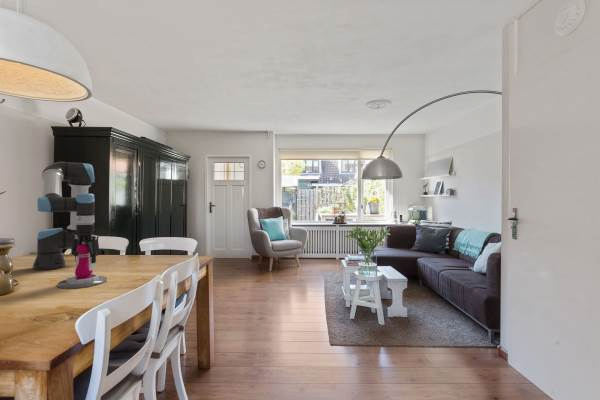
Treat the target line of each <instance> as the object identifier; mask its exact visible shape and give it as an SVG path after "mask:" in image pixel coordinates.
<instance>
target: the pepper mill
mask: <svg viewBox="0 0 600 400" xmlns="http://www.w3.org/2000/svg"><path fill="white" fill-rule="evenodd" d="M77 252H78V253H79V254H78V257H79V263H78V266H77V268H76V267H75V270H74V275H76V276H77V278H76V280H80V279H88V278H91V276H90V275H91V274H93V272H94V271H93V270H89V256H90V253H89V250H88V247H87V245H86V244H85V243H84V242H82V244H81V245H79V246H78V247H77Z"/></svg>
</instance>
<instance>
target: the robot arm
mask: <svg viewBox="0 0 600 400" xmlns="http://www.w3.org/2000/svg"><path fill="white" fill-rule="evenodd" d="M41 178H42V179H41V180H43V194H42V195H43V196H38V198H37V211H38V212H40V213H63V212H66V213H67V212H68V213H70V224H69V225H68V226H67V227H66V229H64V228H63V227H57V228H49V229H43V230H40V231H38V233H37V237H36V240H37V244H36V249H37V250H36V257H35V259H34V261H33V263H32V270H35V271H44V270H46V271H47V270H54V269H55V270H56V269H60V268H64V267H66V260H65V258H64V255H63V250H65V249H66V250H67V249H69V250H70V249H71V250H70V251H71V253H70V255H71V256H74V263H75V269H76V268H77V266H78V263H79V257H78V254H79V253H78V252H77V247H78V246H79V245H81V244H82V242H84V243H85V244H86V245H87V247H88V250H89V253H90V256H89V270H95V269H96V263H97V256H100V244H99V235H95V234H94V232H95V201H96V199H95V194H94V193H89V188H90V187H91V186H92V183H95V182H96V181H95V171H94V167H93V165H92V164H90V163H84V162H70V161H57V162H54V163H51V164H49V165H47V166H46V167H44V169H43V170H42V173H41ZM62 182H68V184H67V185H68V186H70V187H71V193H70V195H71V196H70V197H68V196H64V197H63V188H62Z"/></svg>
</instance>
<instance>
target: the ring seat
mask: <svg viewBox="0 0 600 400" xmlns="http://www.w3.org/2000/svg"><path fill="white" fill-rule="evenodd" d="M90 276H91V278H88V279H80V280H76V278H77V276H76V275H75V274H74V275H71V276H69V277H67V278H66V279H63V280H61V281H59V282H58V283H57V287H58V288H60V289H64V288H65V289H66V290H69V289H70V290H71V289H72V290H73V289H74V290H75V289H84V288H90V287H96V286H99V285H102V284H105V283H106V282H107V281H108V278H107V276H104V275H100V274H99V273H92V274H91V275H90Z"/></svg>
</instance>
